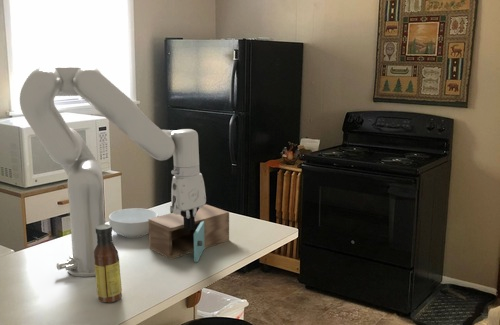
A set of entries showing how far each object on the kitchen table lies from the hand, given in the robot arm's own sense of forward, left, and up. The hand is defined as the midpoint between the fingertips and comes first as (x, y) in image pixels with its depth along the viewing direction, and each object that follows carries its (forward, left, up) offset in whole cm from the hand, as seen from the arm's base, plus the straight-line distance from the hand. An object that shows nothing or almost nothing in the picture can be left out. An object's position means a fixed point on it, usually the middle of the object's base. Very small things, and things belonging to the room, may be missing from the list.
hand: (189, 229), depth 172 cm
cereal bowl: (0, +31, -10) cm, 33 cm away
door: (+4, -1, -9) cm, 10 cm away
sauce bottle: (-32, -7, -10) cm, 34 cm away
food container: (+16, +25, -10) cm, 31 cm away
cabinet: (+8, +10, -10) cm, 16 cm away
